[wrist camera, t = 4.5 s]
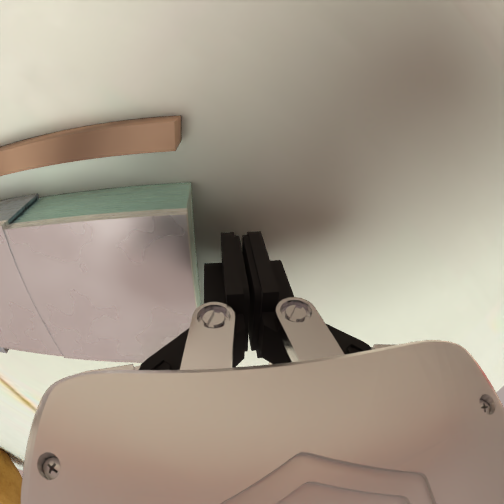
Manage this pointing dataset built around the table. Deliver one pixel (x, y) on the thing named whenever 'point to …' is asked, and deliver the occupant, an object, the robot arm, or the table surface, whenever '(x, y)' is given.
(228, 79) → the table surface
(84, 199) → the tin
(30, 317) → the white square block
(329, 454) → the robot arm
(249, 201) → the table surface
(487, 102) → the table surface
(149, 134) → the lane
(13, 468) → the vase
